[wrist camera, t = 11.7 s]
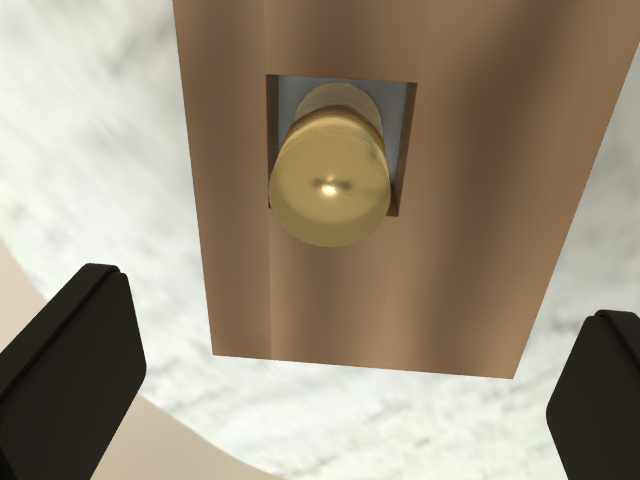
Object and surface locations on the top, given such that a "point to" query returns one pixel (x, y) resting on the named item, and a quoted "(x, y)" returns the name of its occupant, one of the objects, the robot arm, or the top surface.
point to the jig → (401, 172)
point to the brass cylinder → (332, 168)
